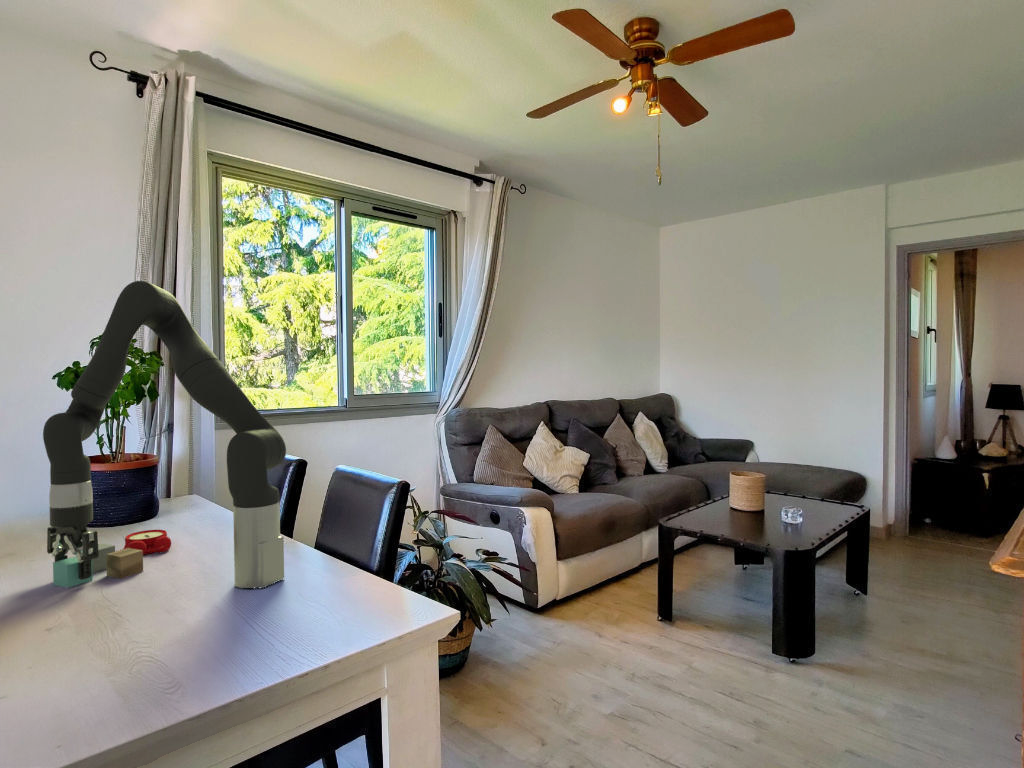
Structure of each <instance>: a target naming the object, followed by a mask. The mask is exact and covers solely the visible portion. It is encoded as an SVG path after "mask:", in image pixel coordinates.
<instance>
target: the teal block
mask: <svg viewBox="0 0 1024 768" xmlns="http://www.w3.org/2000/svg"><path fill="white" fill-rule="evenodd" d="M78 563H79V562H78V559H77V557H76V555H75V556H72V557H68V559H64V560H60V561H57V562H55V561H54V562H52V574H53V575H52V577H53V578H52V579H53V585H54V586H56V585H57V587H60V586H62V587H61V588H65V587H67V588H66V589H69V588H68V587H70V588H73V587H76V586H79V585H82V584H85V582H86V583H88V581H89V582H92V581H93V577H94V576H93V573H92V561H91V577H89V578H86V579H83V580H81V579H79V578H78ZM81 583H82V584H81ZM78 584H79V585H78ZM75 585H76V586H75ZM72 586H73V587H72Z"/></svg>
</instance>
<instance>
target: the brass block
mask: <svg viewBox="0 0 1024 768" xmlns="http://www.w3.org/2000/svg"><path fill="white" fill-rule="evenodd" d="M106 563H107V569H106V576H107V577H111V578H115V579H120V580H121V579H125V578H127V576H128V577H131V576H134V575H137V574H139V572H140V573H142V571H143V572H144V555H143V550H138V549H132V548H127V549H124V548H123V549H120V550H117V551H116V550H115V552H113V553H109V554H106Z"/></svg>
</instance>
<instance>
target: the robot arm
mask: <svg viewBox="0 0 1024 768" xmlns="http://www.w3.org/2000/svg"><path fill="white" fill-rule="evenodd" d="M113 306H114V307H113V309H112V312H111V313H110V317H109V319H108V321H107V324H106V325H105V328H104V331H103V333H102V336H101V338H100V340H99V343H98V345H97V347H96V349H95V351H94V353H93V355H92V357H91V359H90V360H89V362H88V364H87V366H86V367H85V369H84V370H83V372H82V373H81V375H80V376H79V378H78V379H77V381H76V383H75V384H74V385H73V387H72V390H71V391H70V395H71V398H72V400H71V401H70V404H69V406H68V408H67V410H66V411H65V412H59V413H55V414H53V415H51V416H50V417H49V418H48V419H47V420H46V421H45V422H44V426H43V428H42V429H43V431H42V438H43V443H44V448H45V451H46V455H47V458H48V461H49V463H50V468H49V469H50V472H49V473H50V474H49V475H50V476H49V477H50V481H49V482H50V486H49V487H50V488H49V495H48V497H49V501H48V503H49V526H48V527H47V528H46V529H47V531H46V533H47V535H46V539H47V540H46V545H47V546H46V553H47V554H51V555H52V556H51V557H52V558H54V562H57V561H60V560H64V559H68V558H69V557H68V553H69V551H70V552H71V554H72V555H75V556H76V557H77V559H78V562H79V563H78V578H79V579H81V580H83V579H86V578H89V577H91V561H92V560H93V559H95V558H98V556H99V552H98V544H99V538H98V531H97V530H96V529H95V530H90V531H88V524H89V523H91V522H92V521H94V501H93V500H94V497H93V493H94V492H93V486H92V485H93V484H92V476H91V475H92V472H91V471H92V470H91V469H92V468H91V466H92V465H91V459H90V457H89V456H88V455H86V454H84V448H83V442H84V441H86V440H87V439H89V438H90V437H91V436H92V435H93V434H94V432H95V431H96V430H97V428H98V426H99V424H100V422H101V420H102V418H103V417H102V416H104V412H105V409H106V407H107V404H108V402H109V401H110V400H111V398H112V396H114V394H115V392H116V390H117V389H118V387H119V385H120V384H121V383H122V380H123V378H124V375H125V373H126V367H127V363H128V354H129V353H128V352H129V349H130V345H131V343H132V340H133V338H134V337H135V335H136V334H137V332H138V331H139V329H140V328H141V327H142V326H146V327H148V328H149V330H151V331H152V332H153V333H154V334H155V335H157V337H158V338H159V339H160V340H161V342H162V343H163V344H164V346H165V347H166V348H167V351H168V352H169V355H170V359H171V364H172V369H173V373H174V374H175V377H176V378H177V380H178V381H179V383H180V384H181V385H182V387H183V388H184V389H185V390H186V392H187V393H188V395H189V396H190V397H191V398H192V400H193V401H195V402H196V403H197V404H198V405H200V406H201V407H202V408H204V409H205V410H206V411H208V412H210V413H211V414H213V415H214V416H216V417H218V418H219V419H220V420H222V421H223V422H225V423H226V424H227V425H228V426H229V427H230V428H231V429H232V430H233V431H234V432H235V434H234V435H233V437H231V438H230V439H229V442H228V445H227V448H226V468H227V469H226V471H227V485H228V490H229V494H230V496H231V498H232V504H233V506H232V507H233V514H232V515H233V554H234V555H233V561H234V565H233V566H234V567H233V569H234V586H235V587H236V588H238V587H239V589H243V588H253V589H257V588H256V587H261V588H263V587H265V586H268V585H270V584H272V583H274V582H276V581H278V580H281V579H283V578H284V579H285V550H284V549H285V547H284V546H285V545H284V542H285V540H284V536H281V521H280V520H281V519H280V518H281V516H280V515H281V512H280V490H279V488H278V487H276V486H273V485H271V484H270V483H269V479H268V471H269V470H271V469H273V468H276V467H278V466H280V465H282V463H283V462H284V460H285V458H286V455H287V446H286V444H285V443H286V442H285V441H284V440H285V439H283V436H282V435H281V433H279V432H278V430H277V429H276V428H275V427H274V426H273V425H272V424H271V423H270V422H269V420H267V418H266V417H264V415H262V413H261V412H260V411H259V410H258V409H257V408H256V407H255V406H254V404H253V403H252V402H251V400H250V399H249V398H248V397H247V395H246V394H245V392H244V391H243V390H242V389H241V387H240V386H239V385H238V384H237V383H236V382H237V381H235V379H234V378H233V377H232V375H231V373H230V372H229V371H228V370H227V368H226V367H225V366H224V364H223V362H221V360H220V359H219V358H218V357H217V356H216V354H215V353H214V351H212V349H211V348H210V346H208V344H207V343H206V342H205V340H204V339H203V338H202V337H201V336H200V334H198V333H197V331H196V330H195V328H194V327H193V325H192V324H191V321H190V320H189V318H188V317H187V316H186V313H185V311H184V309H183V308H182V306H181V304H180V302H179V301H178V300H177V299H176V297H175V296H174V295H173V294H172V293H170V292H169V291H167V290H165V289H164V288H161V287H159V286H157V285H155V284H154V283H150V281H149V282H148V281H145V280H136V281H135V280H134V281H132V282H130V283H128V284H127V285H126V286H125V287H123V289H122V290H121V292H120V293H119V295H118V297H117V300H116V302H115V303H114V305H113ZM91 548H93V553H92V552H91ZM82 552H83V556H82V554H81V553H82ZM284 579H283V580H284ZM281 581H282V580H281ZM274 584H275V583H274ZM272 585H273V584H272ZM270 586H271V585H270ZM254 587H255V588H254ZM268 587H269V586H268ZM261 588H260V589H261ZM265 588H266V587H265ZM263 589H264V588H263Z"/></svg>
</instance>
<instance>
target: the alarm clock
mask: <svg viewBox="0 0 1024 768" xmlns="http://www.w3.org/2000/svg"><path fill="white" fill-rule="evenodd" d="M124 542H125V543H124V546H123V549H127V548H132V549H138V550H143V556H144V555H147V554H148V553H150V554H154V553H158V554H161V553H160V552H163V553H165V551H166V552H168V551H169V550H170V549H171V547H172V540H171V538H170V537H169V536H168V533H167V530H164V529H145V530H140V531H137V532H132V533H129V534H127V535H126V536H125V538H124Z"/></svg>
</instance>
